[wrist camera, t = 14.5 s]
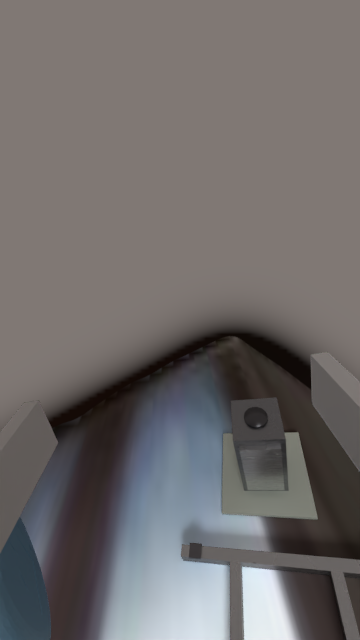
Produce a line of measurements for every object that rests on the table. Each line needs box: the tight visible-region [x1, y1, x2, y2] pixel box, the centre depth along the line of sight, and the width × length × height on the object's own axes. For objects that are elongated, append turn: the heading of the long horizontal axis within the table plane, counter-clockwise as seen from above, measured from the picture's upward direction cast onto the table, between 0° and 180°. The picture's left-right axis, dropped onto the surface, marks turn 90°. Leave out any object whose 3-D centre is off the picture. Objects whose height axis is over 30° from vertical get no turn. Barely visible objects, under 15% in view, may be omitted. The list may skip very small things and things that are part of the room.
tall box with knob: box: [231, 398, 289, 491], centre depth 32 cm, size 5×6×10 cm
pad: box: [222, 432, 318, 519], centre depth 35 cm, size 10×10×1 cm
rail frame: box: [181, 543, 360, 640], centre depth 23 cm, size 20×11×2 cm, turn 82°
